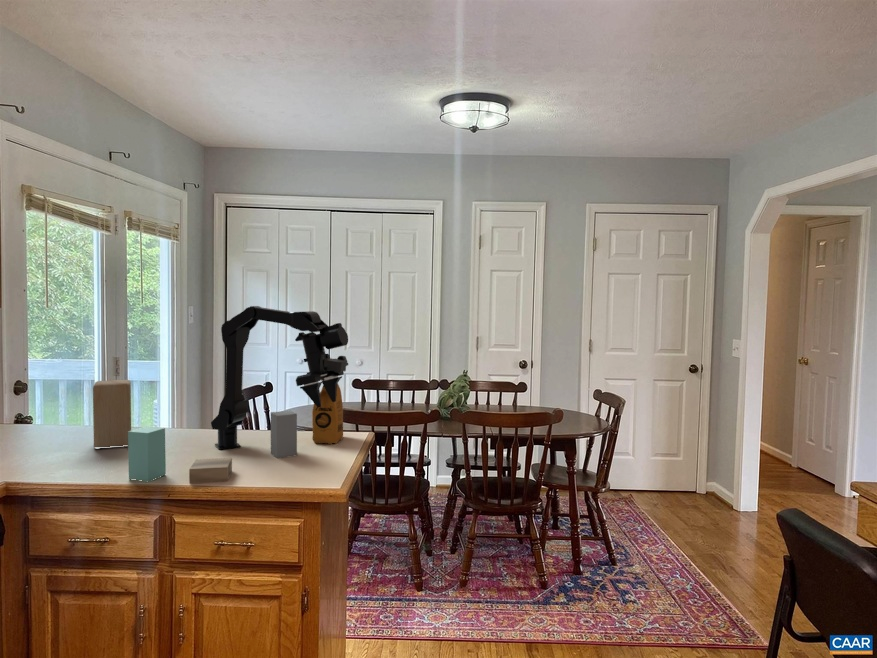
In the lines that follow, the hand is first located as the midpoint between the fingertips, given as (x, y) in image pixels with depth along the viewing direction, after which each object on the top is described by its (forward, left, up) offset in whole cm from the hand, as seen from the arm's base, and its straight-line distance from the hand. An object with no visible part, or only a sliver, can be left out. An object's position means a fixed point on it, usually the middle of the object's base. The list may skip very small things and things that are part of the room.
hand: (327, 404), depth 170 cm
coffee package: (-18, +8, -16) cm, 25 cm away
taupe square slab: (+4, -33, -16) cm, 37 cm away
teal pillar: (-4, -47, -15) cm, 50 cm away
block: (-46, -52, -16) cm, 72 cm away
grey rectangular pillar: (-8, -10, -15) cm, 20 cm away
